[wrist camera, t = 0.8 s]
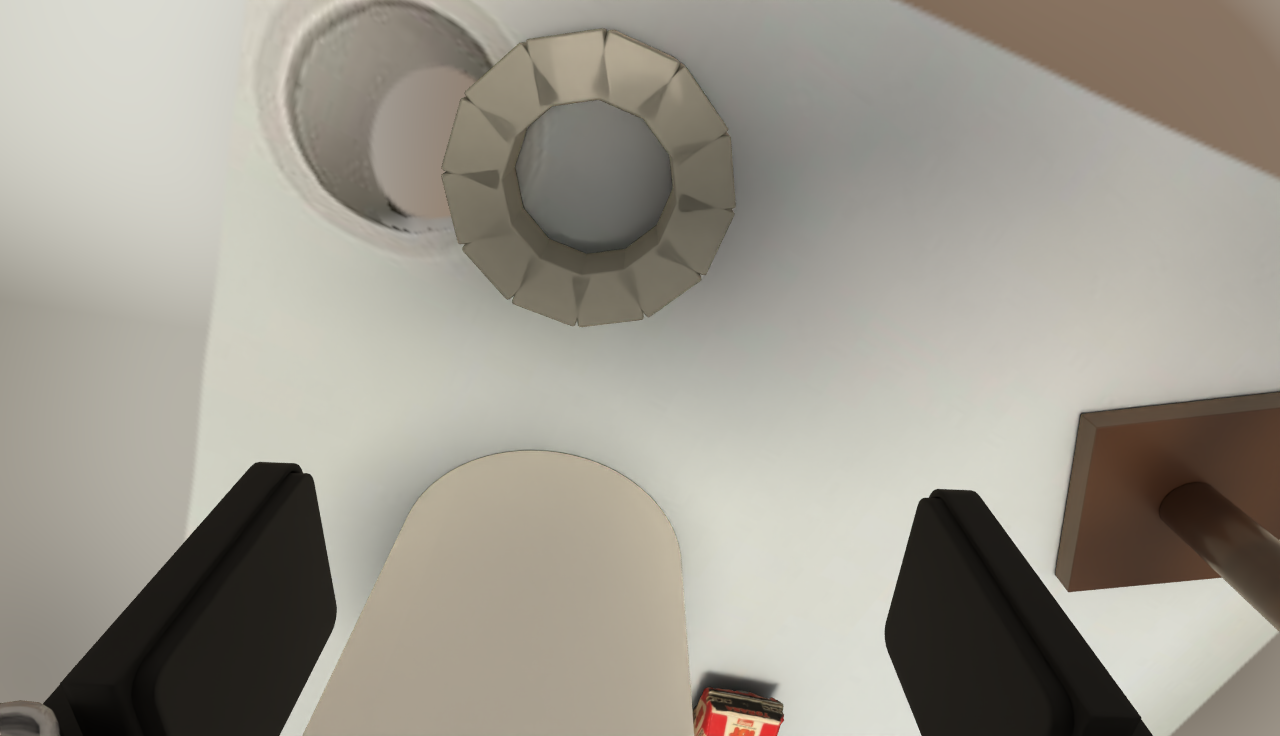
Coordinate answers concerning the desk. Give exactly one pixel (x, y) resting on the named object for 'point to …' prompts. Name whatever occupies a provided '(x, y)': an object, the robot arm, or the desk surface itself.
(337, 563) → the desk surface
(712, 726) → the race car
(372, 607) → the canister
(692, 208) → the grey faceted ring
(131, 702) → the robot arm
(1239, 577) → the post
